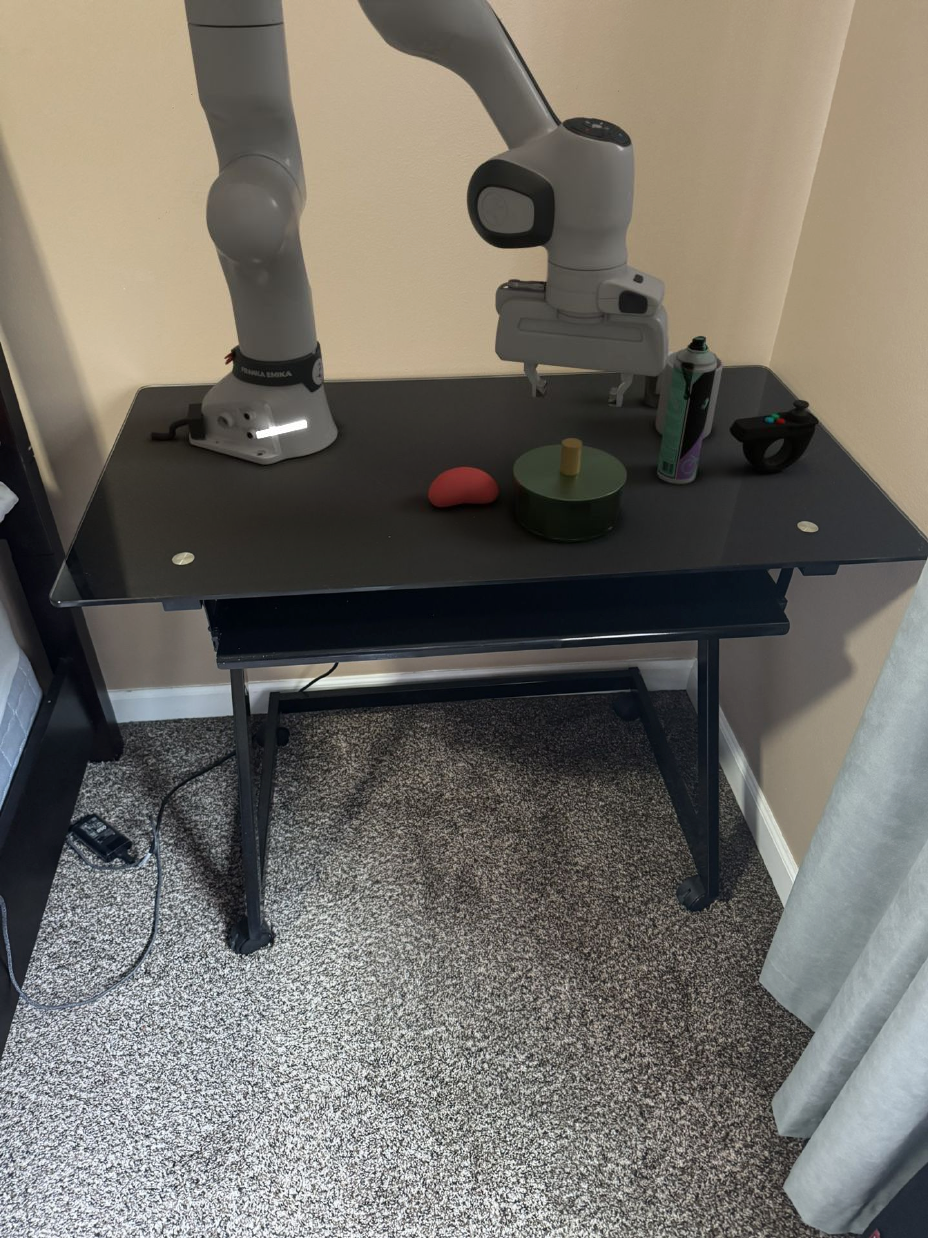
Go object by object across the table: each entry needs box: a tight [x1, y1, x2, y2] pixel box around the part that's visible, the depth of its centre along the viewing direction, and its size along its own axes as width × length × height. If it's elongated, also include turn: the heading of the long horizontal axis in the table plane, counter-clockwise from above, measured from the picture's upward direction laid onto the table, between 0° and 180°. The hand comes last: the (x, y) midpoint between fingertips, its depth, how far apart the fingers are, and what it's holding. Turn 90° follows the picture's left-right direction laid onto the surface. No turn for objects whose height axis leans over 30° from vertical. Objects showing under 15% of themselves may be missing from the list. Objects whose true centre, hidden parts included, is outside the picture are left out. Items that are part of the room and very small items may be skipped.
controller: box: [729, 399, 820, 473], centre depth 124 cm, size 4×12×10 cm, turn 103°
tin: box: [514, 482, 623, 543], centre depth 115 cm, size 14×14×6 cm
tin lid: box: [512, 437, 628, 504], centre depth 112 cm, size 15×15×5 cm
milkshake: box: [643, 348, 675, 409], centre depth 141 cm, size 5×5×10 cm
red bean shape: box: [427, 466, 500, 508], centre depth 118 cm, size 5×9×6 cm
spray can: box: [656, 335, 718, 485], centre depth 119 cm, size 6×6×20 cm
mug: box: [655, 351, 724, 440], centre depth 132 cm, size 12×8×11 cm
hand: (576, 400), depth 107 cm, fingers open, 8 cm apart
